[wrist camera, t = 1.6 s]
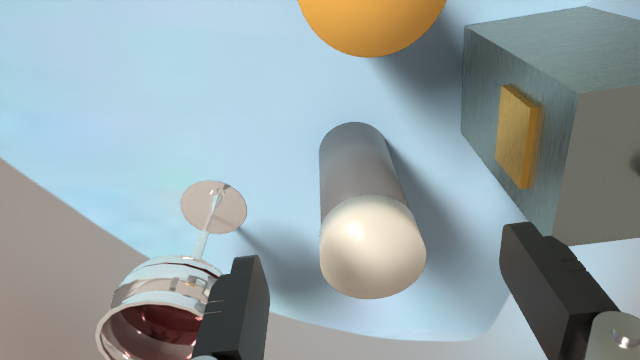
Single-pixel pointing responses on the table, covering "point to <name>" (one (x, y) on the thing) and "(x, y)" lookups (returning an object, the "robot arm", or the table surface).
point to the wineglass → (170, 286)
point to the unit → (559, 118)
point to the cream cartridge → (365, 217)
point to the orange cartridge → (370, 23)
